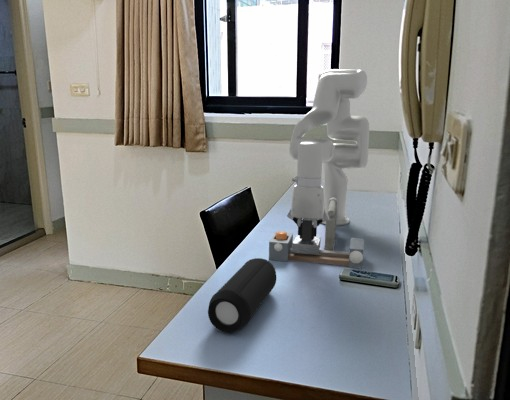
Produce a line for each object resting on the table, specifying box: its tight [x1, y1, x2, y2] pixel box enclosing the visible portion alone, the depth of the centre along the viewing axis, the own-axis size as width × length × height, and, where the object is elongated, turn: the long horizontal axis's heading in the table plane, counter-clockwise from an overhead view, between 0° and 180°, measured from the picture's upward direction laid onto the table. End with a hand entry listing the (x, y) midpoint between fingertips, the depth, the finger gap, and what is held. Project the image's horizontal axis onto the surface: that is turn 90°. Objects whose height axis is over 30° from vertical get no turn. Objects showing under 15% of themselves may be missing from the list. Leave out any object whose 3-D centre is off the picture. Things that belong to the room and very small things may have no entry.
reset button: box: [275, 230, 288, 240], centre depth 150 cm, size 4×4×4 cm
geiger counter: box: [323, 197, 340, 251], centre depth 166 cm, size 14×6×25 cm
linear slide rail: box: [268, 231, 365, 269], centre depth 148 cm, size 10×29×6 cm, turn 77°
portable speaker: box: [207, 257, 277, 333], centre depth 114 cm, size 26×10×10 cm, turn 160°
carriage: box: [292, 218, 322, 254], centre depth 148 cm, size 8×8×10 cm
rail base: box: [288, 247, 350, 267], centre depth 149 cm, size 8×29×2 cm, turn 77°
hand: (307, 237), depth 148 cm, fingers closed on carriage, 3 cm apart
